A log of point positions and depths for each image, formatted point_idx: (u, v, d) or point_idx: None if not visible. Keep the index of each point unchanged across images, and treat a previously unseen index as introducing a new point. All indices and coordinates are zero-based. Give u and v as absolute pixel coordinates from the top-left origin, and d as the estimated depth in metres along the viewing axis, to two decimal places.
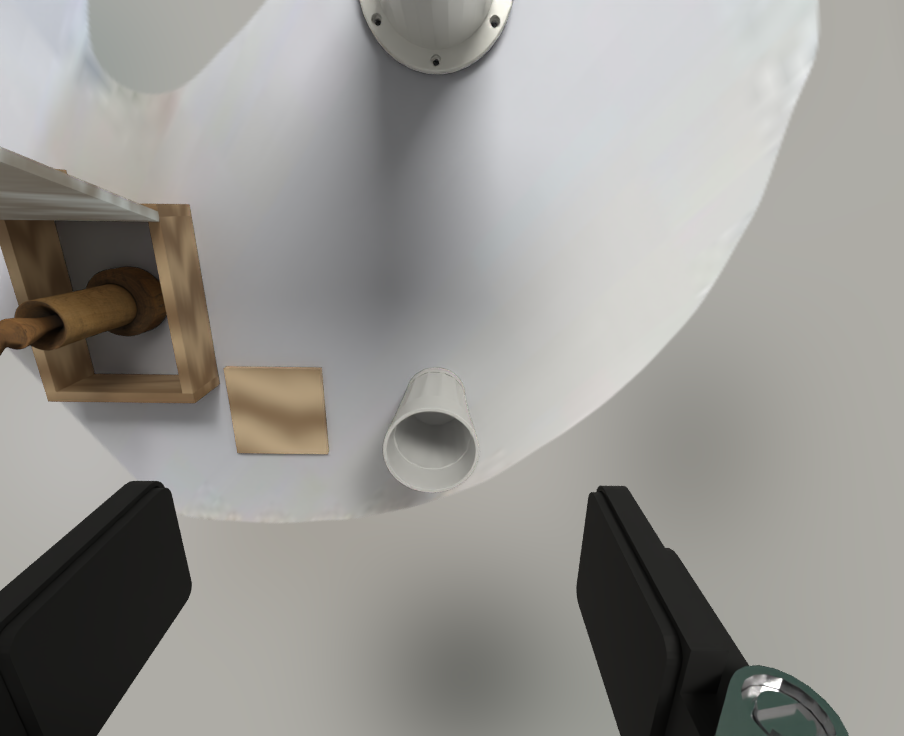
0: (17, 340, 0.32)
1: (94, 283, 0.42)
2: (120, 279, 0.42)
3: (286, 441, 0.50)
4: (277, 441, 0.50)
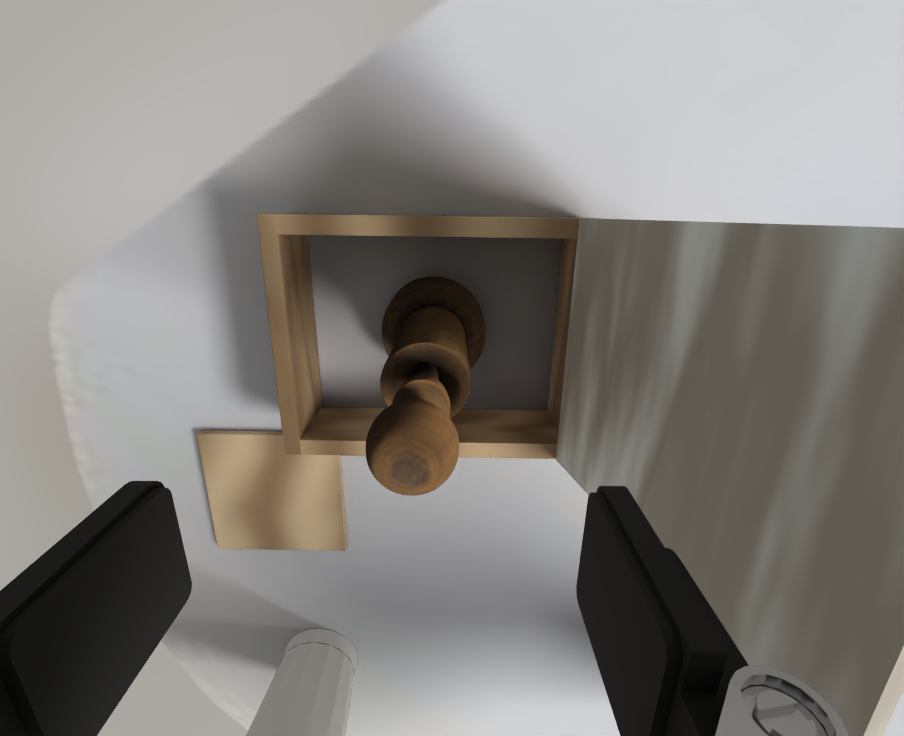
0: None
1: (466, 314, 0.27)
2: (471, 353, 0.28)
3: (229, 500, 0.34)
4: (227, 489, 0.34)
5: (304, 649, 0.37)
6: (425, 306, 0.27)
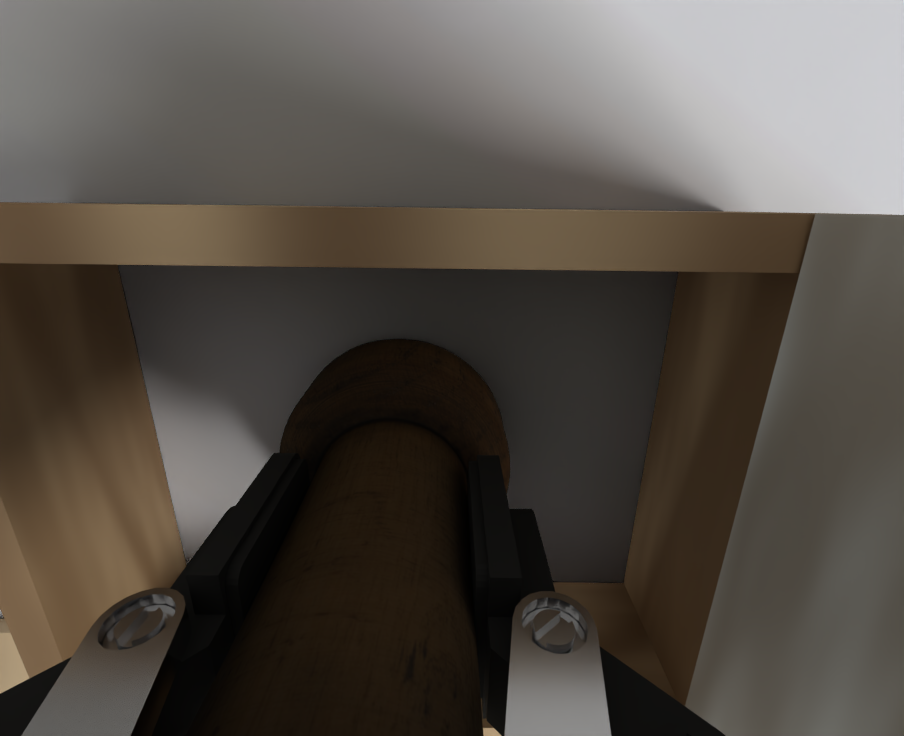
0: None
1: (469, 439, 0.12)
2: None
3: None
4: None
5: None
6: (371, 424, 0.11)
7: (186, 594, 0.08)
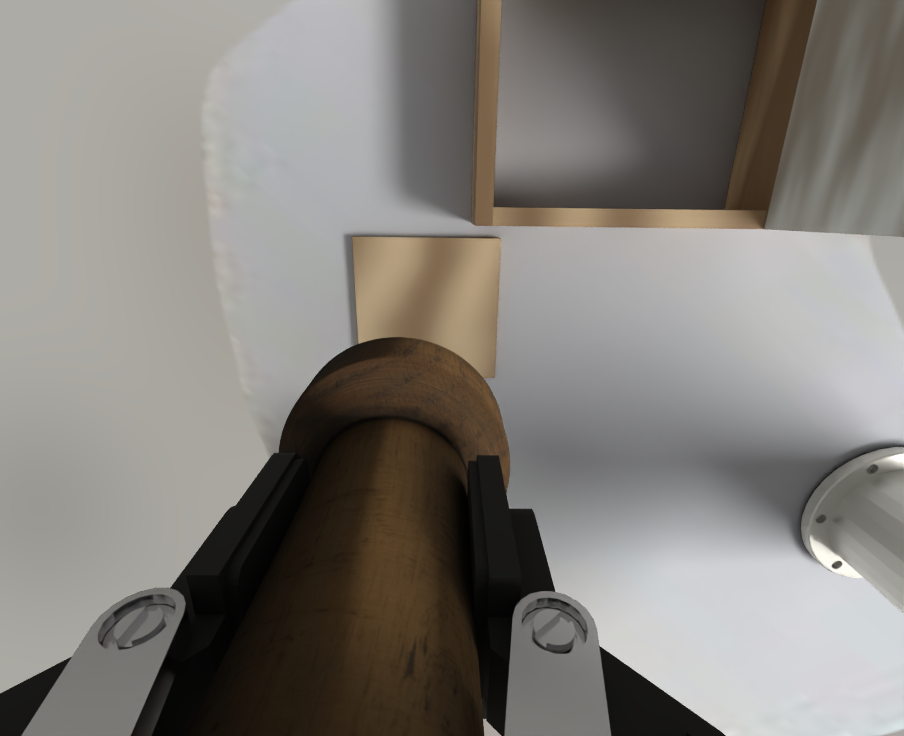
0: None
1: (469, 437, 0.12)
2: None
3: (378, 318, 0.32)
4: (378, 304, 0.32)
5: None
6: (371, 422, 0.11)
7: (186, 594, 0.08)
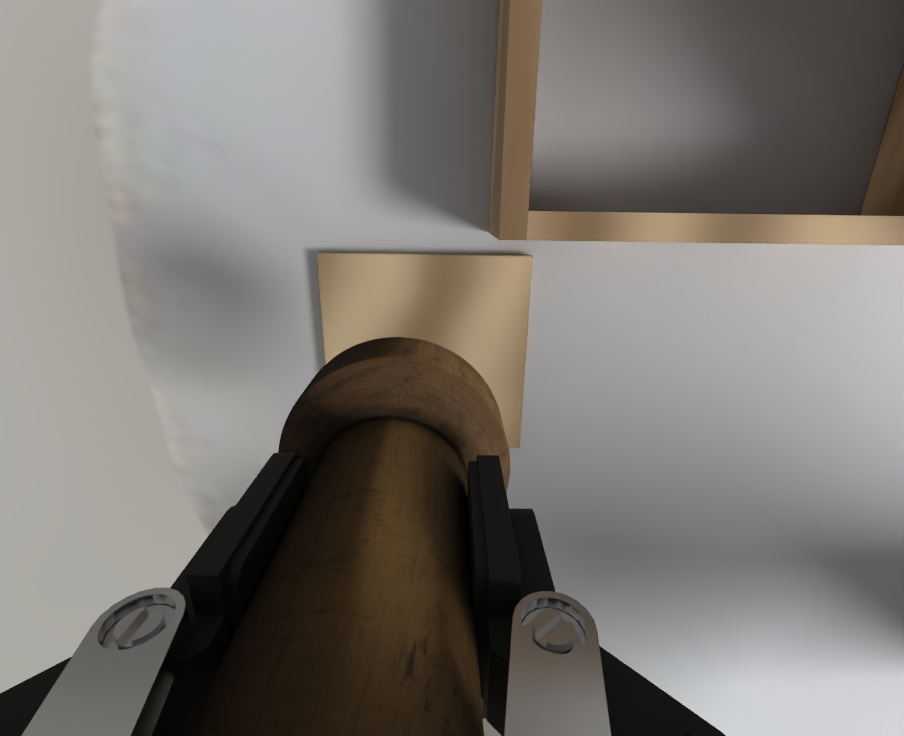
0: None
1: (469, 437, 0.12)
2: None
3: None
4: None
5: None
6: (371, 422, 0.11)
7: (186, 594, 0.08)
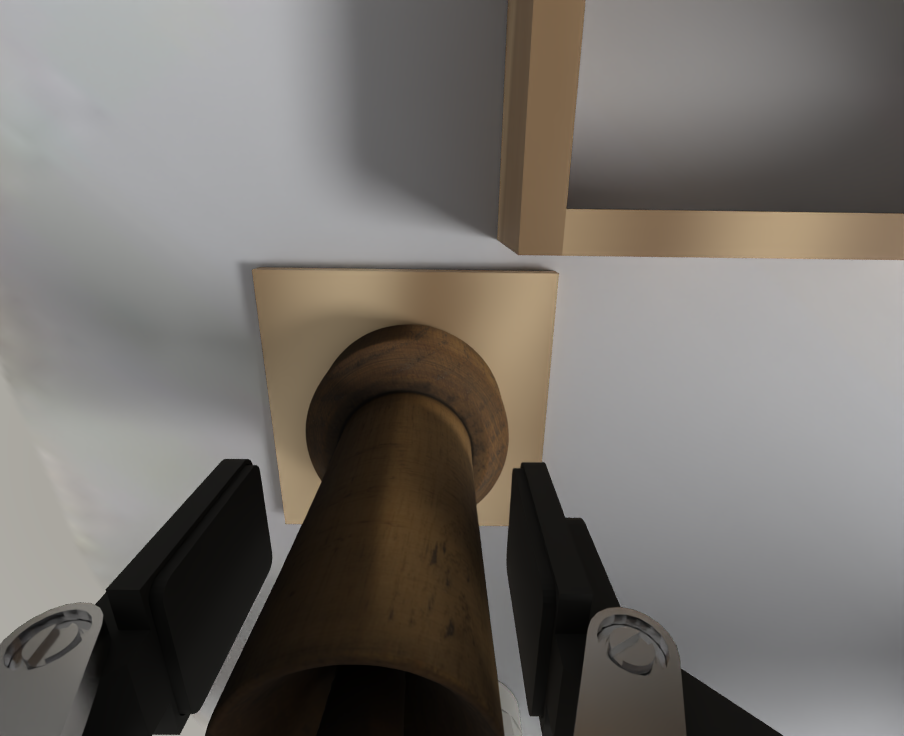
0: None
1: (473, 409, 0.13)
2: (484, 480, 0.14)
3: None
4: (311, 399, 0.16)
5: None
6: (388, 395, 0.13)
7: None
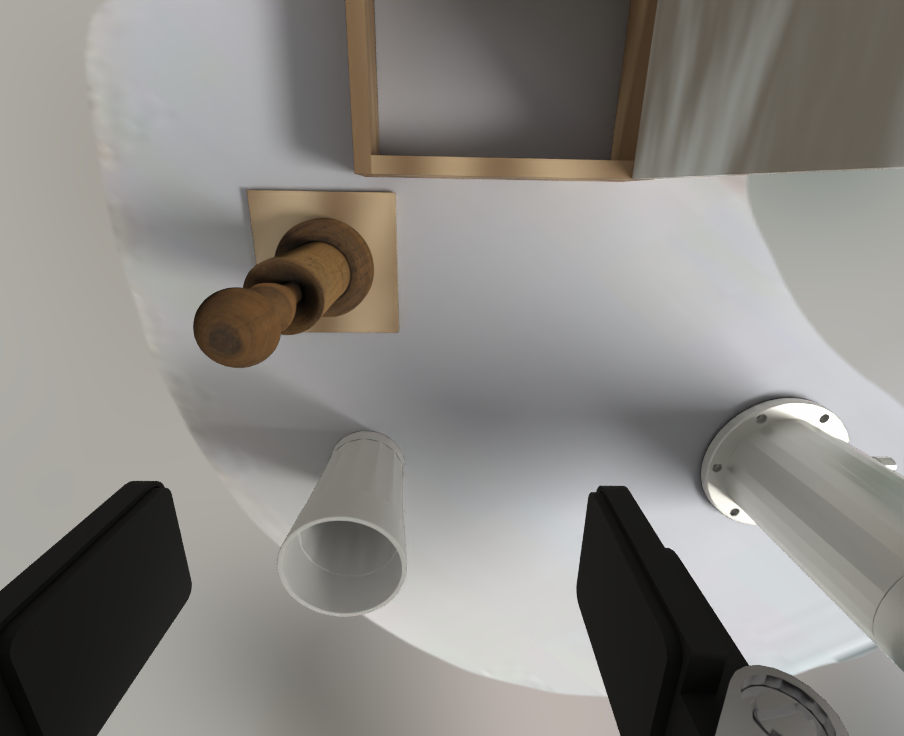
0: None
1: (349, 250, 0.30)
2: (357, 287, 0.31)
3: None
4: None
5: (354, 443, 0.37)
6: (310, 242, 0.29)
7: None
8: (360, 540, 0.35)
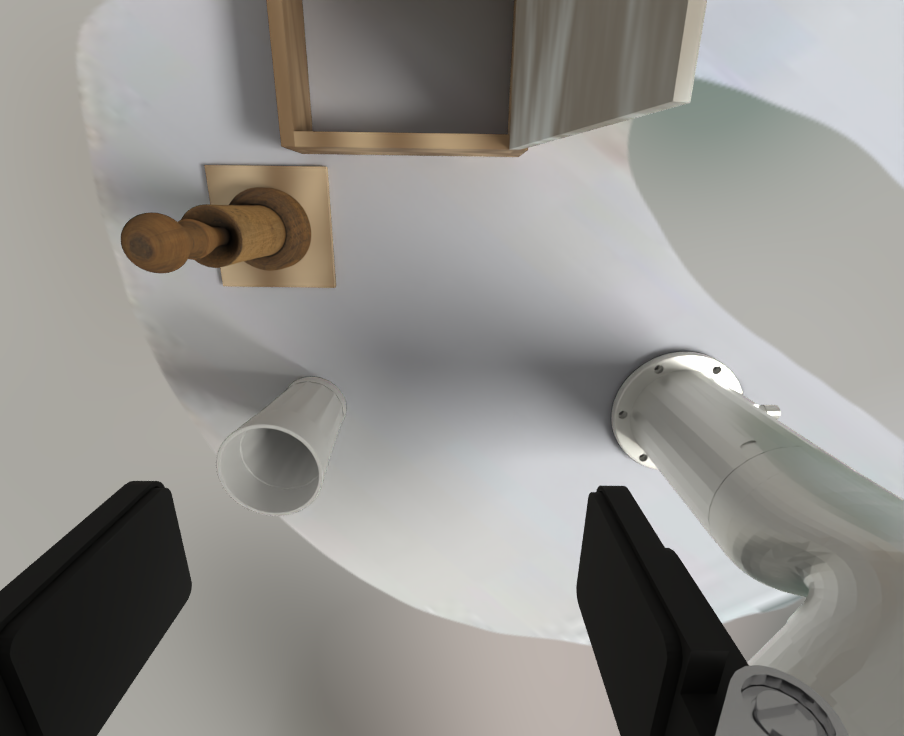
0: None
1: (283, 212, 0.36)
2: (292, 244, 0.37)
3: None
4: None
5: (299, 384, 0.43)
6: (251, 205, 0.36)
7: None
8: (300, 465, 0.41)
